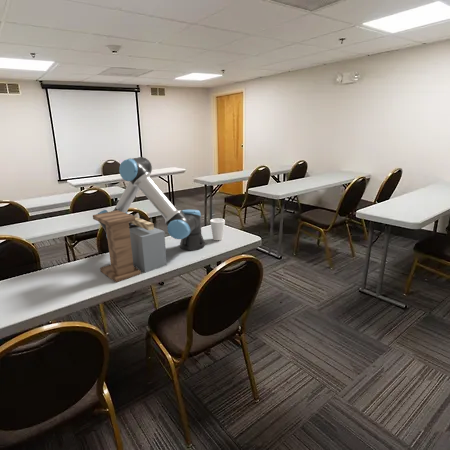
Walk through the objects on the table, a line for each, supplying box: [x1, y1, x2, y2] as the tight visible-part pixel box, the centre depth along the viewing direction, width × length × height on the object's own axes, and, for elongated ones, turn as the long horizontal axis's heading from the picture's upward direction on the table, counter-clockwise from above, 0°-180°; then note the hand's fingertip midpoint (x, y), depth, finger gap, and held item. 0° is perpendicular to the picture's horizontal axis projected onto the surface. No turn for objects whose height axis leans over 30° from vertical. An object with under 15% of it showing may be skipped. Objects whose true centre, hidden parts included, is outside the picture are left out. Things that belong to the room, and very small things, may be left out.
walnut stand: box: [92, 210, 142, 283], centre depth 157 cm, size 18×13×30 cm
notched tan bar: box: [129, 217, 155, 230], centre depth 168 cm, size 24×3×3 cm, turn 44°
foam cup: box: [209, 217, 226, 241], centre depth 206 cm, size 10×9×13 cm
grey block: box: [129, 226, 168, 273], centre depth 169 cm, size 18×13×19 cm
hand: (135, 216), depth 170 cm, fingers closed on notched tan bar, 3 cm apart
